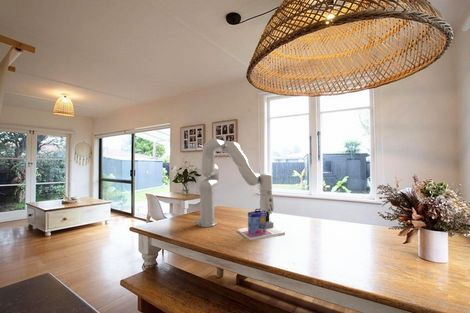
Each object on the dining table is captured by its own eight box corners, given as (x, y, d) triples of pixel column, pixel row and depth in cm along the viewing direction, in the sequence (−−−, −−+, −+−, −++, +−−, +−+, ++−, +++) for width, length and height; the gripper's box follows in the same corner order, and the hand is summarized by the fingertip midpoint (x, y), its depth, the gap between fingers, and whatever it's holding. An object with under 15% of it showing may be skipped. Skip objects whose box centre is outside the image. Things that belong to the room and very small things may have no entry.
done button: (265, 226, 139) (265, 222, 139) (262, 225, 143) (262, 221, 143) (270, 225, 141) (270, 221, 141) (267, 224, 144) (267, 220, 144)
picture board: (250, 240, 121) (250, 232, 121) (237, 231, 138) (236, 224, 138) (284, 234, 131) (284, 227, 131) (268, 226, 147) (268, 219, 147)
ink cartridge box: (252, 235, 125) (251, 210, 125) (247, 232, 130) (247, 208, 130) (266, 232, 129) (266, 208, 129) (261, 230, 134) (261, 206, 134)
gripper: (277, 193, 137) (278, 223, 136) (264, 191, 150) (265, 218, 150) (267, 194, 134) (267, 225, 133) (255, 191, 147) (255, 219, 147)
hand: (266, 221), depth 142 cm, fingers closed
